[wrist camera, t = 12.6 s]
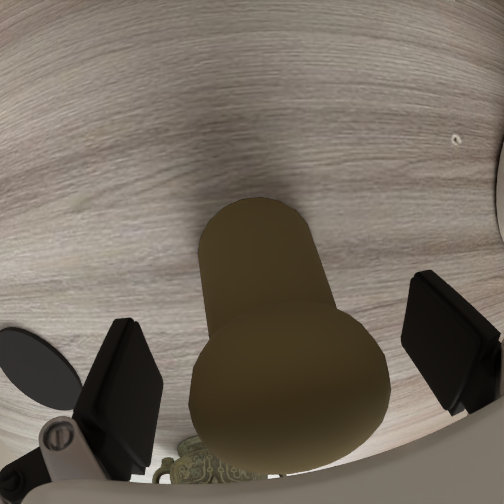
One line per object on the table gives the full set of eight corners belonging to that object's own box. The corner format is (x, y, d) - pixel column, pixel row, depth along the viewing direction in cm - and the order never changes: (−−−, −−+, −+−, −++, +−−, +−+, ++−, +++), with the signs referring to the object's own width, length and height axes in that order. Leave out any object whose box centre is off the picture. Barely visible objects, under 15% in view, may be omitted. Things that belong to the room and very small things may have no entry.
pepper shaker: (198, 195, 14) (139, 356, 4) (320, 201, 15) (468, 337, 5) (198, 303, 16) (181, 495, 6) (305, 304, 17) (374, 477, 7)
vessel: (166, 469, 24) (162, 518, 19) (144, 427, 21) (133, 488, 15) (279, 467, 25) (287, 516, 20) (286, 425, 22) (299, 488, 16)
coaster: (50, 325, 16) (47, 328, 16) (101, 410, 20) (100, 414, 20) (-20, 327, 16) (-22, 330, 16) (29, 402, 20) (28, 405, 19)
